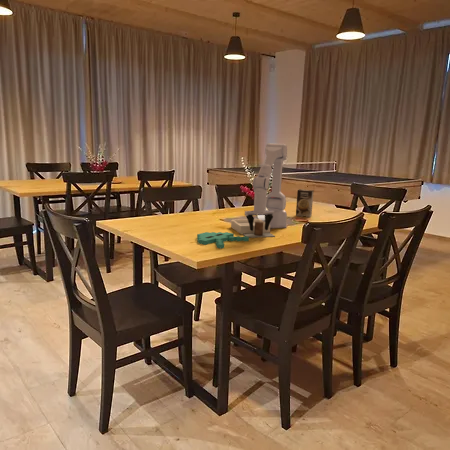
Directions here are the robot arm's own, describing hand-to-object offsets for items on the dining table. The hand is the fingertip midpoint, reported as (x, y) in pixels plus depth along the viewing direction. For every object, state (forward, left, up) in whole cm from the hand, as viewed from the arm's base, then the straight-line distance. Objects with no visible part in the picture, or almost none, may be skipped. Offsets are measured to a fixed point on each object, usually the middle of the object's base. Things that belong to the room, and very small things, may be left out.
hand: (258, 229), depth 198 cm
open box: (0, -12, -3) cm, 13 cm away
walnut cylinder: (0, 0, -2) cm, 2 cm away
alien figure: (+22, +6, -3) cm, 23 cm away
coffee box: (-47, -45, -3) cm, 65 cm away
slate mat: (0, 0, -3) cm, 3 cm away
